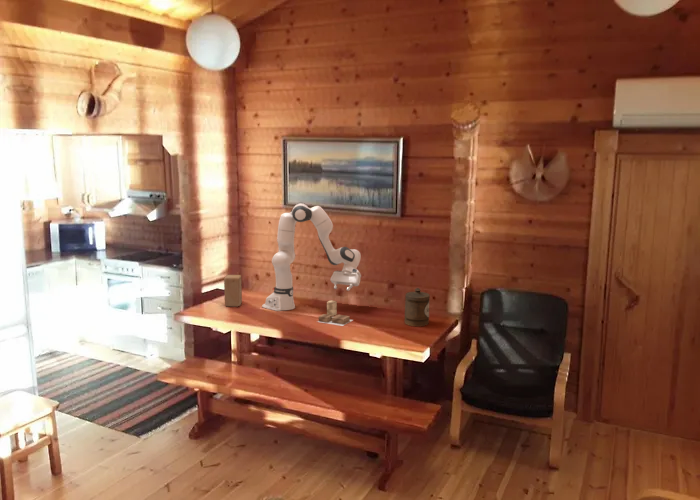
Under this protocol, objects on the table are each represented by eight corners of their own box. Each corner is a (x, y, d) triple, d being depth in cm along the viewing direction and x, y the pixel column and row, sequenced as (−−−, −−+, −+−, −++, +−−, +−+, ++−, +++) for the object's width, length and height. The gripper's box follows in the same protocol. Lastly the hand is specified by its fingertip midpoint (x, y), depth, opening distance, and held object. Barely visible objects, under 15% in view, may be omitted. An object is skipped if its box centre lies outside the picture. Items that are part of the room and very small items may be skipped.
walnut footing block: (318, 321, 364) (318, 316, 363) (323, 318, 369) (323, 313, 369) (327, 322, 361) (327, 317, 361) (331, 320, 366) (331, 315, 366)
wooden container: (431, 326, 360) (432, 290, 356) (408, 327, 357) (408, 291, 354) (424, 319, 374) (425, 285, 370) (401, 320, 372) (402, 285, 368)
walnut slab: (331, 322, 361) (331, 317, 361) (338, 319, 368) (338, 314, 368) (343, 324, 358) (343, 319, 357) (349, 320, 365) (349, 316, 364)
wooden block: (239, 307, 398) (238, 277, 395) (224, 306, 399) (223, 277, 395) (242, 303, 408) (241, 274, 405) (227, 302, 408) (226, 274, 405)
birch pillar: (326, 317, 377) (326, 301, 375) (330, 315, 380) (330, 300, 379) (333, 318, 374) (333, 302, 373) (336, 316, 378) (336, 301, 377)
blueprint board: (316, 323, 363) (316, 321, 363) (328, 317, 375) (328, 315, 375) (342, 328, 355) (342, 325, 355) (353, 321, 367) (353, 319, 367)
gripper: (333, 267, 395) (325, 284, 388) (360, 270, 386) (353, 288, 379) (336, 272, 400) (329, 290, 393) (363, 276, 390) (356, 293, 384)
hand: (341, 289), depth 386 cm, fingers open, 8 cm apart
